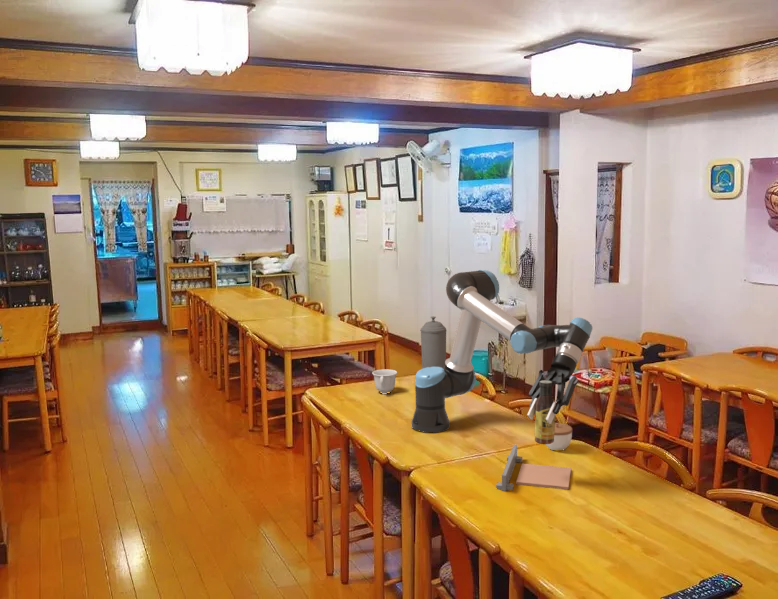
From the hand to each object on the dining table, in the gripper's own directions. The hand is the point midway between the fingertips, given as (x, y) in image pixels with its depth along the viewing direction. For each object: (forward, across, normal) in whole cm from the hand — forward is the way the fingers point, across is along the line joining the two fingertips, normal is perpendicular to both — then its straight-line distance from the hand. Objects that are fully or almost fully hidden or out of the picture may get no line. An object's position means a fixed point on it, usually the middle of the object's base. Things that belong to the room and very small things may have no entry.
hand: (538, 419), depth 215 cm
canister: (-30, -99, +59) cm, 119 cm away
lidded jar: (-6, -11, +35) cm, 38 cm away
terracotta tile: (+12, 0, +17) cm, 21 cm away
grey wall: (+15, -10, +13) cm, 23 cm away
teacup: (-14, -110, +42) cm, 118 cm away
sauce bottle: (+4, 0, +9) cm, 9 cm away
